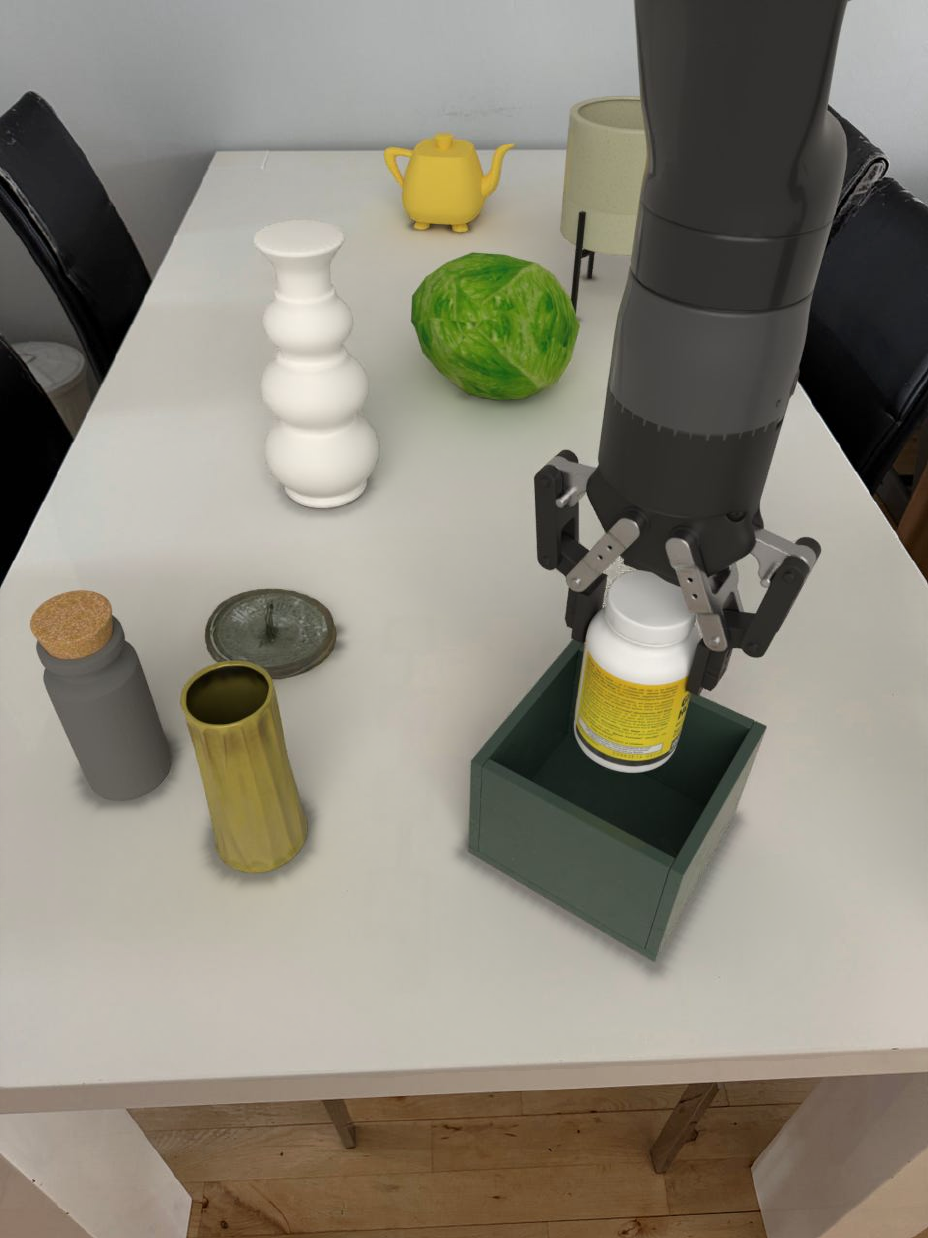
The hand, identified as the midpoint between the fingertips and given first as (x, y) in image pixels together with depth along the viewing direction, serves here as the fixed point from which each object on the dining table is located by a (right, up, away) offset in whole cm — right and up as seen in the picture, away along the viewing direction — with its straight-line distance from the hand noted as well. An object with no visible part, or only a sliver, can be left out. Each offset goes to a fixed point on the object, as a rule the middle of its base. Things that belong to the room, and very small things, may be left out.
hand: (640, 657), depth 50 cm
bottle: (-34, -9, +16) cm, 38 cm away
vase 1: (-23, -13, +12) cm, 29 cm away
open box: (0, -12, +12) cm, 17 cm away
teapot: (-12, +65, +94) cm, 115 cm away
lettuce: (-6, +29, +56) cm, 64 cm away
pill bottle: (0, -5, +5) cm, 7 cm away
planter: (+10, +45, +73) cm, 86 cm away
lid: (-25, 0, +25) cm, 35 cm away
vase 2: (-23, +15, +41) cm, 49 cm away
